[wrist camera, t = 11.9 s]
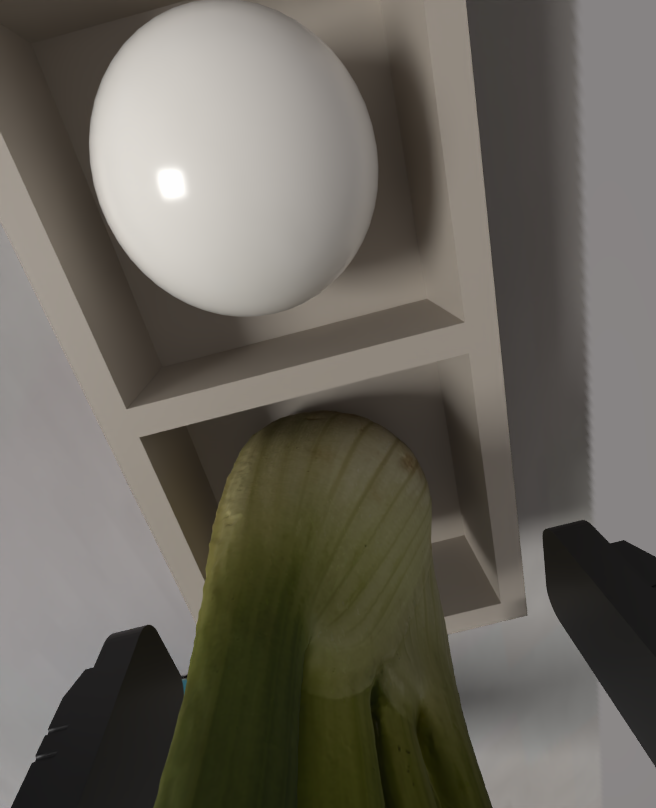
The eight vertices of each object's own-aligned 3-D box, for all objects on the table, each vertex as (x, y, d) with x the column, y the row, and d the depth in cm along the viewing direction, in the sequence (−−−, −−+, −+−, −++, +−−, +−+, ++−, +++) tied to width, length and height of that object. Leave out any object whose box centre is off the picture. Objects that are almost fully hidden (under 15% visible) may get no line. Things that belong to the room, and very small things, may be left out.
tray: (9, 30, 11) (-141, -69, 7) (388, -77, 10) (442, -236, 7) (240, 585, 17) (227, 687, 13) (475, 528, 17) (527, 615, 13)
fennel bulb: (220, 410, 13) (-130, 1315, 2) (382, 356, 13) (878, 1072, 2) (288, 561, 16) (276, 1422, 4) (429, 517, 15) (797, 1305, 4)
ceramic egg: (113, 238, 11) (-15, 255, 7) (186, 5, 10) (87, -192, 5) (303, 327, 13) (311, 395, 8) (396, 132, 11) (477, 68, 6)
